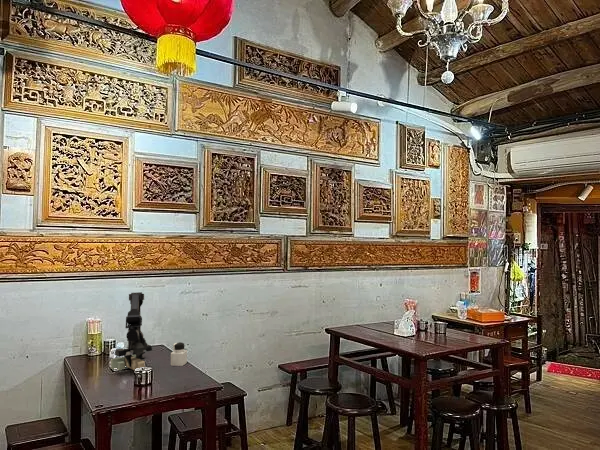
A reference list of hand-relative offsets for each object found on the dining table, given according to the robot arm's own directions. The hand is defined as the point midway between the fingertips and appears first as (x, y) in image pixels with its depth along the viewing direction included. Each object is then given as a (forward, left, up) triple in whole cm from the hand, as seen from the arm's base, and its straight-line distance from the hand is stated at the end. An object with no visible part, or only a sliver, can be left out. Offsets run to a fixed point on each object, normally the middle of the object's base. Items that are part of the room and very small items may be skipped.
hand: (133, 366), depth 262 cm
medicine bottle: (+6, +24, -3) cm, 25 cm away
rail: (+1, 0, -1) cm, 1 cm away
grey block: (-9, 0, -2) cm, 9 cm away
